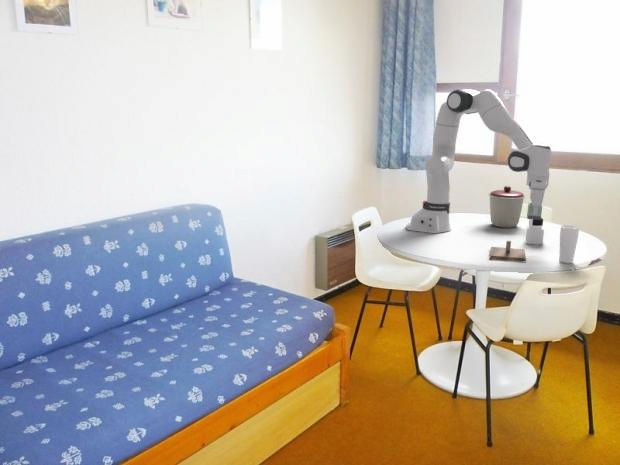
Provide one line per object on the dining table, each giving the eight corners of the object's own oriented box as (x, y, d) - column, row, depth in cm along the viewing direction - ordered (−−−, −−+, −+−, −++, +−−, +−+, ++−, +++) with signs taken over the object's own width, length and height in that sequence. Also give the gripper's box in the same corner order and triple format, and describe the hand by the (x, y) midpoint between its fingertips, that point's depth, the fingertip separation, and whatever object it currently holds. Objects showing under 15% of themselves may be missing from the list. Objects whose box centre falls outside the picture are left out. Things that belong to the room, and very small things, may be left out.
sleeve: (527, 218, 244) (528, 205, 243) (527, 216, 249) (528, 202, 248) (540, 219, 243) (542, 206, 241) (540, 217, 248) (541, 203, 246)
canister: (480, 226, 293) (483, 186, 287) (494, 220, 306) (497, 181, 300) (514, 231, 281) (518, 190, 276) (527, 225, 294) (531, 185, 289)
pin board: (490, 258, 237) (491, 244, 236) (490, 249, 250) (491, 235, 249) (525, 261, 233) (526, 246, 232) (524, 252, 246) (525, 238, 244)
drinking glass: (554, 259, 236) (557, 225, 232) (569, 259, 236) (573, 224, 233) (562, 264, 229) (566, 229, 226) (578, 264, 230) (582, 228, 226)
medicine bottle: (541, 241, 264) (544, 216, 261) (542, 245, 258) (545, 219, 255) (525, 239, 266) (527, 215, 263) (525, 243, 260) (528, 218, 257)
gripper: (528, 177, 252) (525, 207, 256) (530, 185, 234) (527, 217, 237) (543, 178, 250) (540, 208, 254) (547, 185, 232) (543, 218, 235)
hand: (534, 212), depth 245 cm, fingers closed on sleeve, 5 cm apart
